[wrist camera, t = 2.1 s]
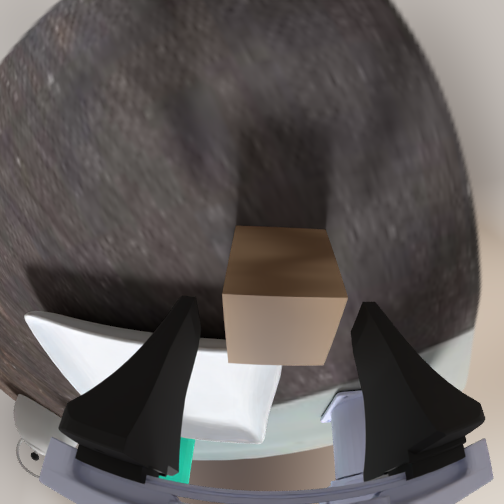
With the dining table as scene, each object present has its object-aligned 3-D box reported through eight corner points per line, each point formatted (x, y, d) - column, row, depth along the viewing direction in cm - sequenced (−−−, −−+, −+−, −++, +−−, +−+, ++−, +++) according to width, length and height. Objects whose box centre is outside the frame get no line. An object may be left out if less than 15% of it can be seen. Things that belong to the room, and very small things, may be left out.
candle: (150, 418, 31) (134, 490, 21) (189, 423, 31) (176, 501, 21) (166, 431, 35) (153, 495, 25) (201, 436, 34) (192, 504, 24)
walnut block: (325, 228, 13) (347, 297, 9) (312, 294, 16) (323, 364, 12) (236, 224, 14) (222, 294, 10) (237, 292, 16) (228, 362, 12)
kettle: (59, 412, 44) (36, 484, 25) (100, 442, 57) (85, 500, 38) (6, 385, 45) (-17, 442, 27) (46, 419, 58) (29, 468, 40)
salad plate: (284, 316, 18) (286, 359, 15) (263, 423, 30) (262, 447, 27) (36, 287, 18) (16, 313, 15) (111, 399, 30) (104, 419, 27)
